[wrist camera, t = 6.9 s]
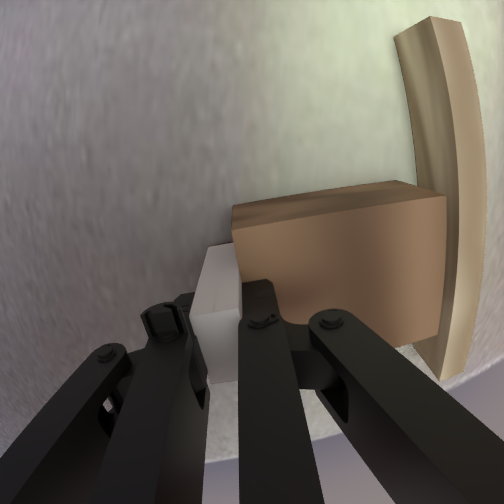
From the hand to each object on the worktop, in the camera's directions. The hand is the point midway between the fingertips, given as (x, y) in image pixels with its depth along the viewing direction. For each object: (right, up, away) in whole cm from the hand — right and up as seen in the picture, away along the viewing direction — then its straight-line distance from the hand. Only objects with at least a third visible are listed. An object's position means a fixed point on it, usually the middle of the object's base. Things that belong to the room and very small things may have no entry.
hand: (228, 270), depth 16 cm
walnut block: (+5, +1, +2) cm, 6 cm away
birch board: (+12, +4, +1) cm, 12 cm away
